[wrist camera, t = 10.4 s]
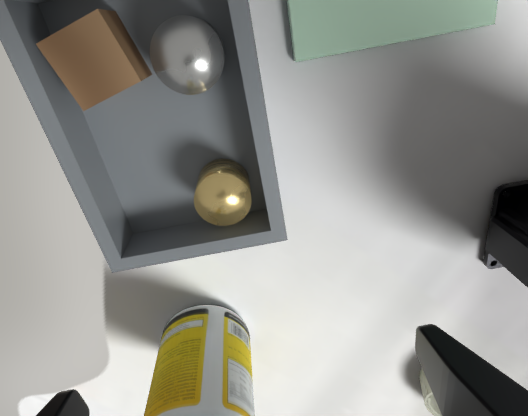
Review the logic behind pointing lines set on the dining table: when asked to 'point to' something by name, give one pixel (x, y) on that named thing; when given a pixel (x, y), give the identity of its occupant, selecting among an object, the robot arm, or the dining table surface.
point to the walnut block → (95, 57)
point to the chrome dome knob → (187, 54)
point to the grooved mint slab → (377, 22)
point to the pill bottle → (203, 366)
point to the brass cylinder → (223, 192)
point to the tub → (153, 133)
